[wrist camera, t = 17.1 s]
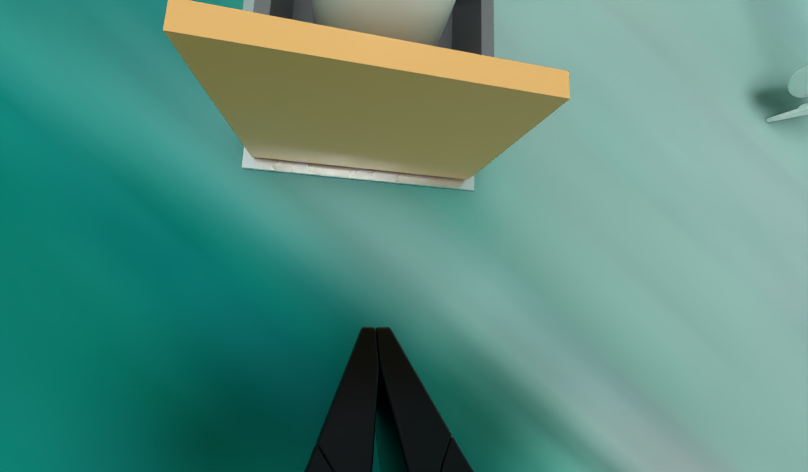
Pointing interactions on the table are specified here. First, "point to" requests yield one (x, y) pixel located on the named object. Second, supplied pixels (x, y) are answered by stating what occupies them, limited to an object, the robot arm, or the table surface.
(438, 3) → the bottle
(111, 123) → the table surface
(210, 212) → the table surface
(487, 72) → the grey and tan box
